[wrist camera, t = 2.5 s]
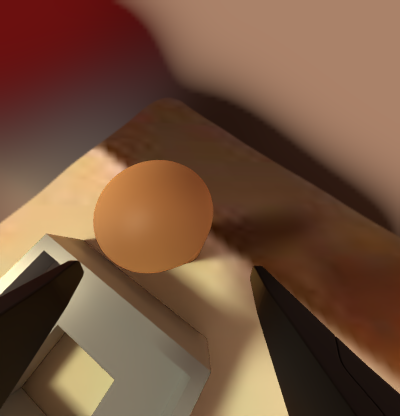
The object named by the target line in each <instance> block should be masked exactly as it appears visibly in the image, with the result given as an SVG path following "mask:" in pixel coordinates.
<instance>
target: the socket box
mask: <svg viewBox="0 0 400 416" xmlns="http://www.w3.org/2000/svg"><path fill="white" fill-rule="evenodd" d="M69 260H78V261H79V262H80V263H81V266H82V268H83V270H84V275H83V277H82V279H81V281H80V283H79V285H78V287H77V289H76V291H75V292H74V294H73V296H72V298H71V300H70V302H69V304H68V305H67V307H66V309H65V310H64V312H63V314H62V315H61V317H60V318H59V320H58V321H57V323H56V324H55V326H54V327H53V329H52V331H51V332H50V334H49V335H48V337H47V338H46V340H45V341H44V343H43V344H42V346H41V348H40V349H39V351H38V352H37V354H36V355H35V357H34V358H33V360H32V361H31V363H30V365H29V366H28V368H27V369H26V371H25V372H24V374H23V375H22V377H21V378H20V380H19V382H18V383H17V385H16V386H15V388H14V389H13V391H12V392H11V394H10V395H9V397H8V399H7V400H6V402H5V403H4V405H3V406H2V408H1V409H0V416H46V415H45V414H44V413H43V412H42V411H41V409H40V408H39V407H38V406H37V405H36V404H35V403H34V401H33V400H32V399H31V398H30V397H29V396H28V395H27V394H26V392H25V391H24V390H23V389H22V388H21V387H22V386H23V385H24V383H25V382H26V381H27V380H28V378H29V377H30V376H31V374H32V373H33V372H34V371H35V369H36V368H37V367H38V366H39V364H40V363H41V362H42V361H43V359H44V358H45V357H46V356H47V354H48V353H49V352H50V351H51V349H52V348H53V347H54V346H55V344H56V343H57V342H58V341H59V339H60V338H61V337H62V335H63V334H64V333H65V332H66V333H67V334H68V335H69V336H70V337H71V338H72V339H73V340H74V341H75V342H76V343H77V344H78V345H79V346H80V347H81V348H82V349H83V350H84V351H85V352H86V353H87V354H89V355H90V356H91V357H92V358H93V359H94V360H95V361H96V362H97V363H98V364H99V365H100V366H101V367H102V368H103V369H104V370H105V371H106V372H107V373H108V374H109V375H110V376H111V377H112V378H113V379H114V382H113V383H112V385H111V386H110V388H109V389H108V391H107V393H106V394H105V396H104V397H103V399H102V400H101V402H100V403H99V405H98V407H97V408H96V410H95V411H94V413H93V414H92V416H190V414H191V412H192V410H193V408H194V406H195V404H196V402H197V400H198V398H199V396H200V394H201V392H202V390H203V388H204V385H205V383H206V381H207V379H208V377H209V375H210V373H211V367H210V359H209V352H208V344H207V339H206V338H205V337H204V336H202V335H201V334H200V333H199V332H197V331H196V330H195V329H194V328H192V327H191V326H190V325H189V324H187V323H186V322H185V321H184V320H182V319H181V318H180V317H179V316H177V315H176V314H175V313H174V312H172V311H171V310H170V309H169V308H167V307H166V306H165V305H164V304H162V303H161V302H160V301H159V300H157V299H156V298H155V297H154V296H152V295H151V294H150V293H149V292H147V291H146V290H145V289H144V288H142V287H141V286H140V285H139V284H137V283H136V282H135V281H134V280H132V279H131V278H130V277H129V276H127V275H126V274H125V273H124V272H122V271H121V270H120V269H119V268H117V267H116V266H115V265H114V264H112V263H111V262H110V261H109V260H107V259H106V258H105V257H104V256H102V255H101V254H100V253H99V252H97V251H96V250H95V249H94V248H92V247H91V246H90V245H89V244H87V243H86V242H85V241H84V240H80V239H74V238H68V237H62V236H57V235H51V234H45V235H44V236H43V237H42V238H41V239H40V240H39V241H38V242H37V243H36V244H35V245H34V246H33V247H32V248H31V249H30V250H29V251H28V252H27V253H26V254H25V255H24V256H23V257H22V258H21V259H20V260H19V261H18V262H17V263H16V264H15V265H14V266H13V267H12V268H11V269H10V270H9V271H8V272H7V273H6V274H5V275H4V276H3V277H2V278H1V279H0V297H1V296H3V295H4V294H6V293H8V292H10V291H12V290H14V289H16V288H18V287H20V286H21V285H23V284H25V283H27V282H29V281H31V280H33V279H35V278H37V277H38V276H40V275H42V274H44V273H46V272H48V271H50V270H52V269H54V268H55V267H57V266H59V265H61V264H63V263H65V262H67V261H69Z"/></svg>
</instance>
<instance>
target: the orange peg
mask: <svg viewBox="0 0 400 416" xmlns="http://www.w3.org/2000/svg"><path fill="white" fill-rule="evenodd" d="M212 220H213V203H212V198H211V195H210V192H209V190H208V188H207V186H206V185H205V183H204V182H203V180H202V179H201V178H200V177H199V176H198V175H197V174H196V173H195V172H194V171H192V170H191V169H189V168H188V167H186V166H184V165H181V164H179V163H176V162H172V161H165V160H152V161H146V162H142V163H138V164H135V165H133V166H131V167H129V168H127V169H125V170H123V171H122V172H121V173H119V174H118V175H116V176H115V177H114V178H113V179H112V180H111V181H110V182H109V183H108V184H107V186H106V187H105V188H104V190H103V191H102V193H101V195H100V197H99V199H98V201H97V204H96V207H95V211H94V219H93V223H94V232H95V236H96V239H97V242H98V244H99V246H100V248H101V250H102V251H103V252H104V253H105V255H106V256H107V257H108V258H109V259H110V260H111V261H112V262H114V263H115V264H117V265H118V266H120V267H122V268H124V269H127V270H130V271H133V272H138V273H157V272H163V271H166V270H170V269H173V268H175V267H178V266H181V265H184V264H186V263H189V262H191V261H193V260H194V259H196V257H197V256H198V255H199V253H200V251H201V249H202V247H203V245H204V242H205V240H206V238H207V236H208V234H209V231H210V229H211V225H212Z"/></svg>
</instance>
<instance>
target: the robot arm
mask: <svg viewBox="0 0 400 416" xmlns="http://www.w3.org/2000/svg"><path fill="white" fill-rule="evenodd" d="M83 275H84V270H83V268H82V266H81V263H80V262H79V261H78V260H69V261H67V262H65V263H63V264H61V265H59V266H57V267H55V268H54V269H52V270H50V271H48V272H46V273H44V274H42V275H40V276H38V277H37V278H35V279H33V280H31V281H29V282H27V283H25V284H23V285H21V286H20V287H18V288H16V289H14V290H12V291H10V292H8V293H6V294H4V295H3V296H1V297H0V409H1V408H2V406H3V405H4V403H5V402H6V400H7V399H8V397H9V395H10V394H11V392H12V391H13V389H14V388H15V386H16V385H17V383H18V382H19V380H20V378H21V377H22V375H23V374H24V372H25V371H26V369H27V368H28V366H29V365H30V363H31V361H32V360H33V358H34V357H35V355H36V354H37V352H38V351H39V349H40V348H41V346H42V344H43V343H44V341H45V340H46V338H47V337H48V335H49V334H50V332H51V331H52V329H53V327H54V326H55V324H56V323H57V321H58V320H59V318H60V317H61V315H62V314H63V312H64V310H65V309H66V307H67V305H68V304H69V302H70V300H71V298H72V296H73V294H74V292H75V291H76V289H77V287H78V285H79V283H80V281H81V279H82V277H83ZM250 281H251V286H252V291H253V296H254V300H255V305H256V310H257V314H258V317H259V321H260V324H261V327H262V330H263V334H264V337H265V340H266V343H267V347H268V350H269V353H270V356H271V359H272V363H273V366H274V369H275V372H276V376H277V379H278V382H279V385H280V389H281V392H282V395H283V398H284V401H285V405H286V408H287V411H288V414H289V416H400V394H399V393H398V392H397V391H396V390H395V389H394V388H392V387H391V386H390V385H389V384H388V383H387V382H386V381H384V380H383V379H382V378H381V377H380V376H379V375H378V374H376V373H375V372H374V371H373V370H372V369H371V368H370V367H368V366H367V365H366V364H365V363H364V362H363V361H362V360H361V359H360V358H359V357H358V356H356V355H355V354H354V353H353V352H352V351H351V350H350V349H349V348H348V347H347V346H346V345H345V344H344V343H343V342H342V341H340V340H339V339H338V338H337V337H335V335H334V334H333V333H332V332H331V331H330V330H329V329H328V328H327V327H326V326H325V325H324V324H322V323H321V322H320V321H319V320H318V319H317V318H316V317H315V316H314V315H313V314H312V313H311V312H310V311H309V310H308V309H307V308H306V307H305V306H303V305H302V304H301V303H300V302H299V301H298V300H297V299H296V298H295V297H294V296H293V295H292V294H291V293H290V292H289V291H288V290H287V289H286V288H285V287H283V286H282V285H281V284H280V283H279V282H278V281H277V280H276V279H275V278H274V277H273V276H272V275H271V274H270V273H269V272H268V271H267V270H266V269H265V268H263V267H262V266H253V269H252V272H251V276H250Z"/></svg>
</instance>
